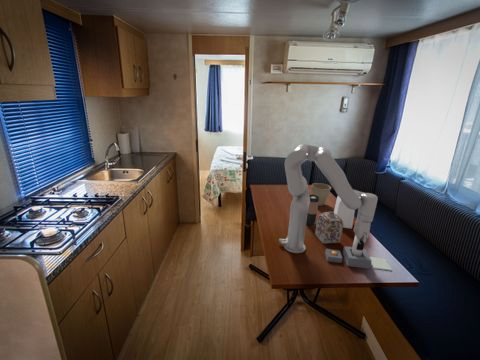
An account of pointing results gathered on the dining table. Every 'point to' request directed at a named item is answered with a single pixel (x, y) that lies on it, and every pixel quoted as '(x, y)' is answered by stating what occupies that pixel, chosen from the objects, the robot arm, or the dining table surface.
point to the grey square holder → (356, 258)
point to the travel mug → (312, 210)
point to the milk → (344, 213)
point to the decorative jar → (329, 227)
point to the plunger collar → (333, 256)
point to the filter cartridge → (354, 250)
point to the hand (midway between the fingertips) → (358, 246)
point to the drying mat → (380, 263)
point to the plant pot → (321, 192)
